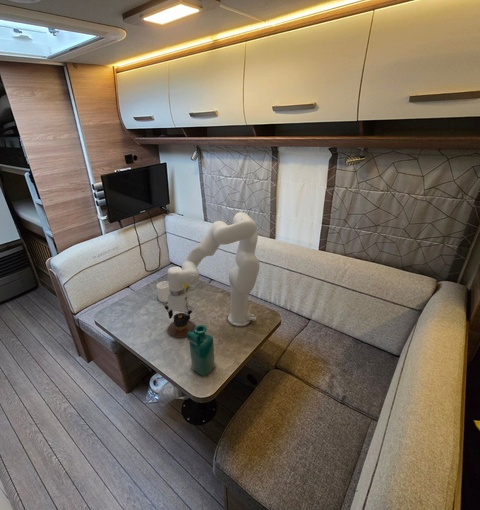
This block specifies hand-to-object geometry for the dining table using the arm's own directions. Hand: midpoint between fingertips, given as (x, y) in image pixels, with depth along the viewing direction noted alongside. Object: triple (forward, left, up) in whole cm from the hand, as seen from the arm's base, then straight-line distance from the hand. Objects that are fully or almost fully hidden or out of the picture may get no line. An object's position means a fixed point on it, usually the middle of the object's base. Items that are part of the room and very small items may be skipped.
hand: (179, 318), depth 146 cm
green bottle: (-20, +22, -7) cm, 31 cm away
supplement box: (+16, -38, -7) cm, 42 cm away
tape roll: (0, 0, -3) cm, 3 cm away
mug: (+22, -26, -7) cm, 35 cm away
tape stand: (0, 0, -7) cm, 7 cm away
